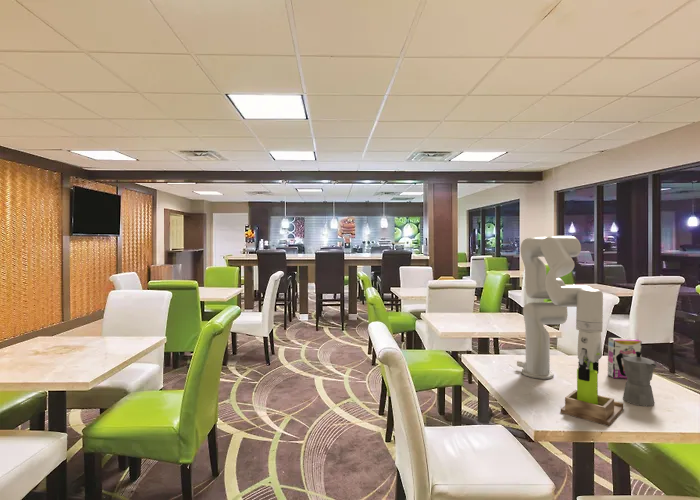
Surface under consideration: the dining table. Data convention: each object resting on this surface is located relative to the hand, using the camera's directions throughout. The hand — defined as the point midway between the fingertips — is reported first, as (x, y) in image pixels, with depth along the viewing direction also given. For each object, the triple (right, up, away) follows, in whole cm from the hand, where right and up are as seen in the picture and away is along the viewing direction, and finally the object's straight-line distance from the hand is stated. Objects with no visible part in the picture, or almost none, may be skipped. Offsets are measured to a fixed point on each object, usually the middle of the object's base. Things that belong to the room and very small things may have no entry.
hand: (588, 376), depth 132 cm
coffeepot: (+24, -12, +11) cm, 29 cm away
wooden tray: (+2, -12, +2) cm, 13 cm away
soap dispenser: (0, -11, -1) cm, 11 cm away
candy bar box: (+37, -12, +36) cm, 53 cm away
